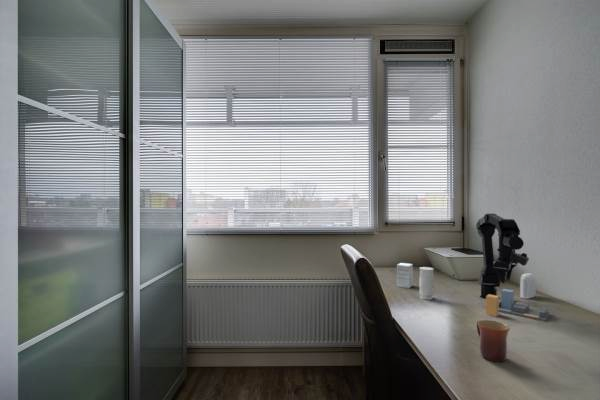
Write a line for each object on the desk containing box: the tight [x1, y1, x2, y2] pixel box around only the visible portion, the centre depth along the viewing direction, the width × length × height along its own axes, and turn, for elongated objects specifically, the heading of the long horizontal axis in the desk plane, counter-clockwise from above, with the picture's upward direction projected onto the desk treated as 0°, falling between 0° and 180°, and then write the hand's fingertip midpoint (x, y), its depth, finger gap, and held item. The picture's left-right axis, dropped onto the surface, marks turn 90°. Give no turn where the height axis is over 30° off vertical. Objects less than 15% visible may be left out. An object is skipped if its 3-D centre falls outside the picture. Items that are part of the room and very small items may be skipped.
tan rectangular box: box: [485, 294, 500, 317], centre depth 147 cm, size 4×4×8 cm
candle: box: [418, 266, 435, 301], centre depth 171 cm, size 7×7×15 cm
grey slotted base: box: [499, 298, 551, 322], centre depth 150 cm, size 20×12×3 cm, turn 45°
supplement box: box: [396, 262, 414, 289], centre depth 194 cm, size 7×7×13 cm
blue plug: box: [500, 288, 515, 310], centre depth 153 cm, size 4×4×8 cm
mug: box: [476, 319, 510, 362], centre depth 108 cm, size 12×9×10 cm
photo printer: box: [519, 272, 537, 300], centre depth 174 cm, size 10×4×12 cm, turn 123°
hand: (505, 281), depth 152 cm, fingers open, 9 cm apart
